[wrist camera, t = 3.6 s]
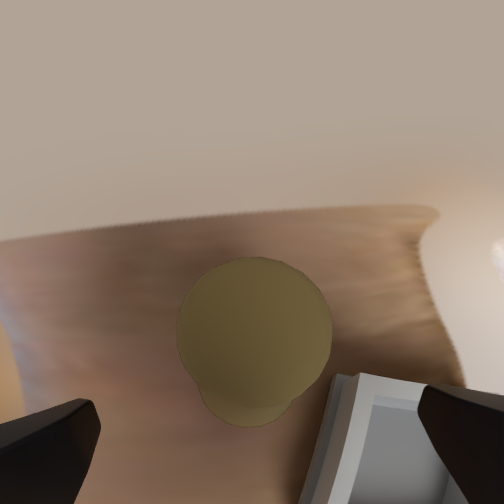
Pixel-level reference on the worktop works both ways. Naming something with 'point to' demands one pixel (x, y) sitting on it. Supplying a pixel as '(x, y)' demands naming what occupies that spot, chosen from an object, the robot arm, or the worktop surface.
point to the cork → (253, 338)
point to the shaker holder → (376, 448)
